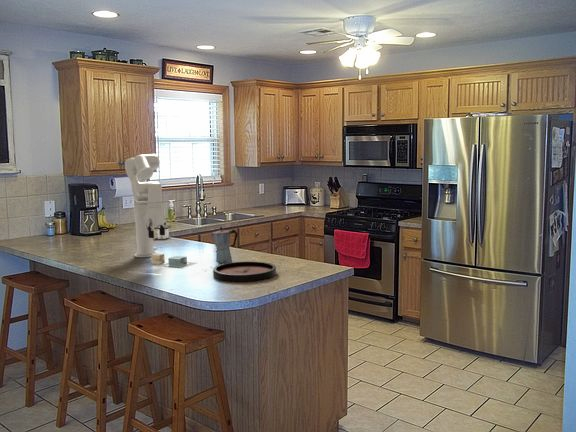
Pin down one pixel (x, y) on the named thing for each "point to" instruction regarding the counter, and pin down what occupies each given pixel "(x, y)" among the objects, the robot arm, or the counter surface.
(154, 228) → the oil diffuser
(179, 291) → the counter surface
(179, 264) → the teal base block
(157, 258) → the maple block
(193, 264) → the build board
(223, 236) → the moka pot
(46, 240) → the counter surface
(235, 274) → the round serving tray
